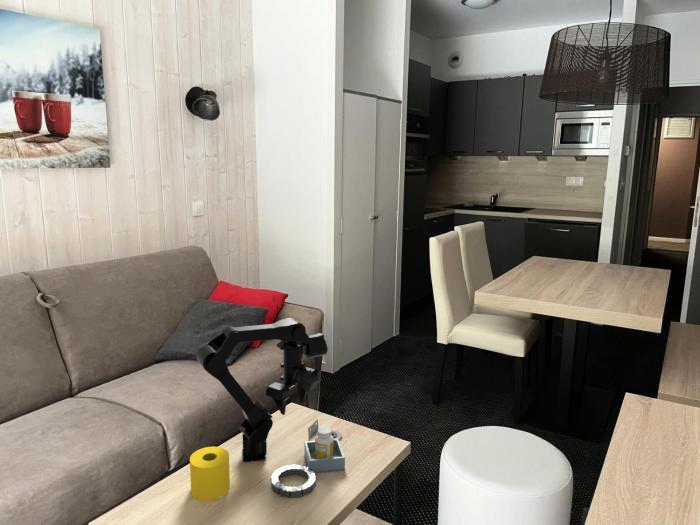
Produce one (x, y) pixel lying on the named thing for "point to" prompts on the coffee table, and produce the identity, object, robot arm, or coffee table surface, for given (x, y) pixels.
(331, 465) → the bin
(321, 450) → the supplement bottle
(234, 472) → the coffee table surface
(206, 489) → the yellow paper roll
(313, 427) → the bracket
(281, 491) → the socket ring
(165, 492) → the coffee table surface
